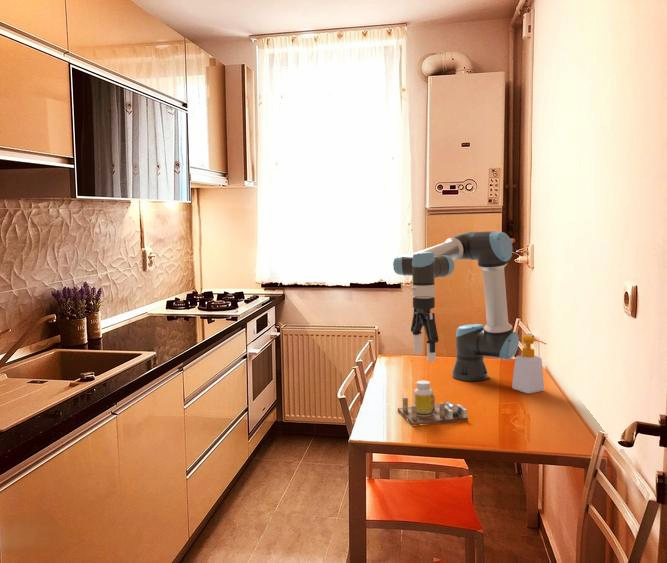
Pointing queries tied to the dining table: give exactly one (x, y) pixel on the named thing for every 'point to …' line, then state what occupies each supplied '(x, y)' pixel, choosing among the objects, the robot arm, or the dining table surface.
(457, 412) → the pin
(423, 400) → the pill bottle
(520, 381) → the soap bottle
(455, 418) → the board
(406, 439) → the dining table surface
